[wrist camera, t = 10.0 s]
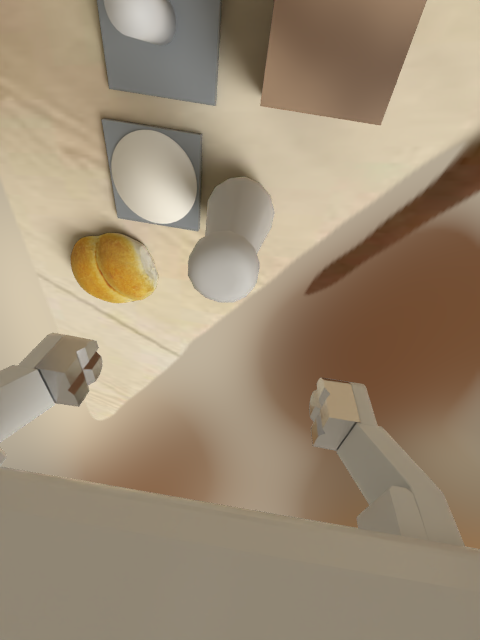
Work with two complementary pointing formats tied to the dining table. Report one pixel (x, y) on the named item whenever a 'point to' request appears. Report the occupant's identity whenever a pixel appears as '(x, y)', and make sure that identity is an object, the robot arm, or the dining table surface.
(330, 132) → the dining table surface
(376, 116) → the brown wooden block
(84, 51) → the dining table surface
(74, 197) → the dining table surface
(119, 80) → the board
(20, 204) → the dining table surface
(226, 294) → the salt shaker
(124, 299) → the bread roll
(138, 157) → the board
